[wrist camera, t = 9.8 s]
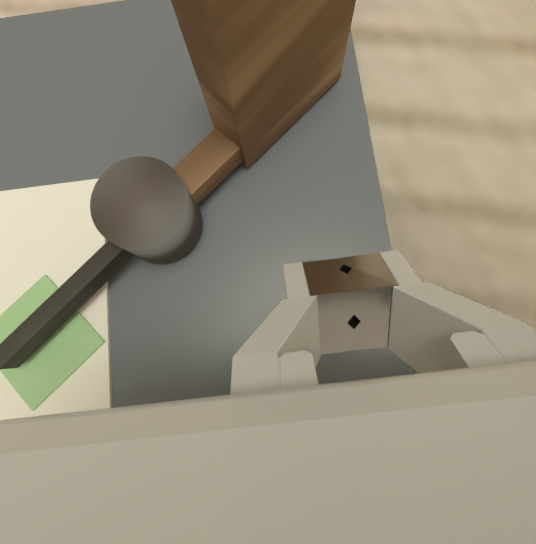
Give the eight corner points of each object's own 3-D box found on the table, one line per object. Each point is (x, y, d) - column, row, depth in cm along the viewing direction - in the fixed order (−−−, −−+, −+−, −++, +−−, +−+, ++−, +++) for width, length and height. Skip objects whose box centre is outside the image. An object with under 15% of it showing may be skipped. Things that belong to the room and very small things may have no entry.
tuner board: (431, 499, 16) (442, 511, 15) (-46, 548, 17) (-70, 564, 16) (337, -17, 22) (340, -38, 21) (-23, 34, 22) (-40, 17, 21)
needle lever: (354, 89, 19) (440, -233, 8) (48, 391, 17) (-357, 475, 6) (298, 45, 20) (312, -305, 9) (-3, 331, 18) (-448, 314, 7)
